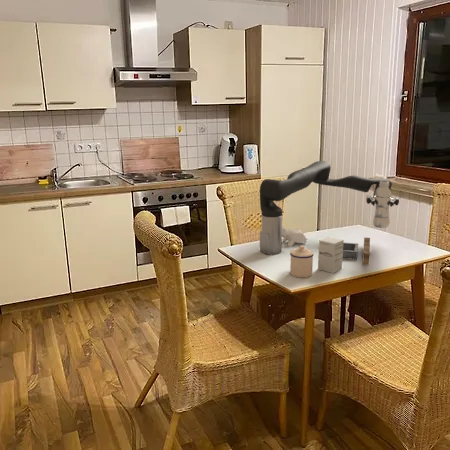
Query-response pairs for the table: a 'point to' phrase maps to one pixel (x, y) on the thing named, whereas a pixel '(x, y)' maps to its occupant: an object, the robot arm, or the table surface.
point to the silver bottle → (382, 205)
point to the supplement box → (330, 254)
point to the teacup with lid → (301, 262)
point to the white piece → (293, 236)
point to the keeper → (350, 250)
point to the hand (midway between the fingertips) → (382, 203)
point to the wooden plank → (366, 251)
